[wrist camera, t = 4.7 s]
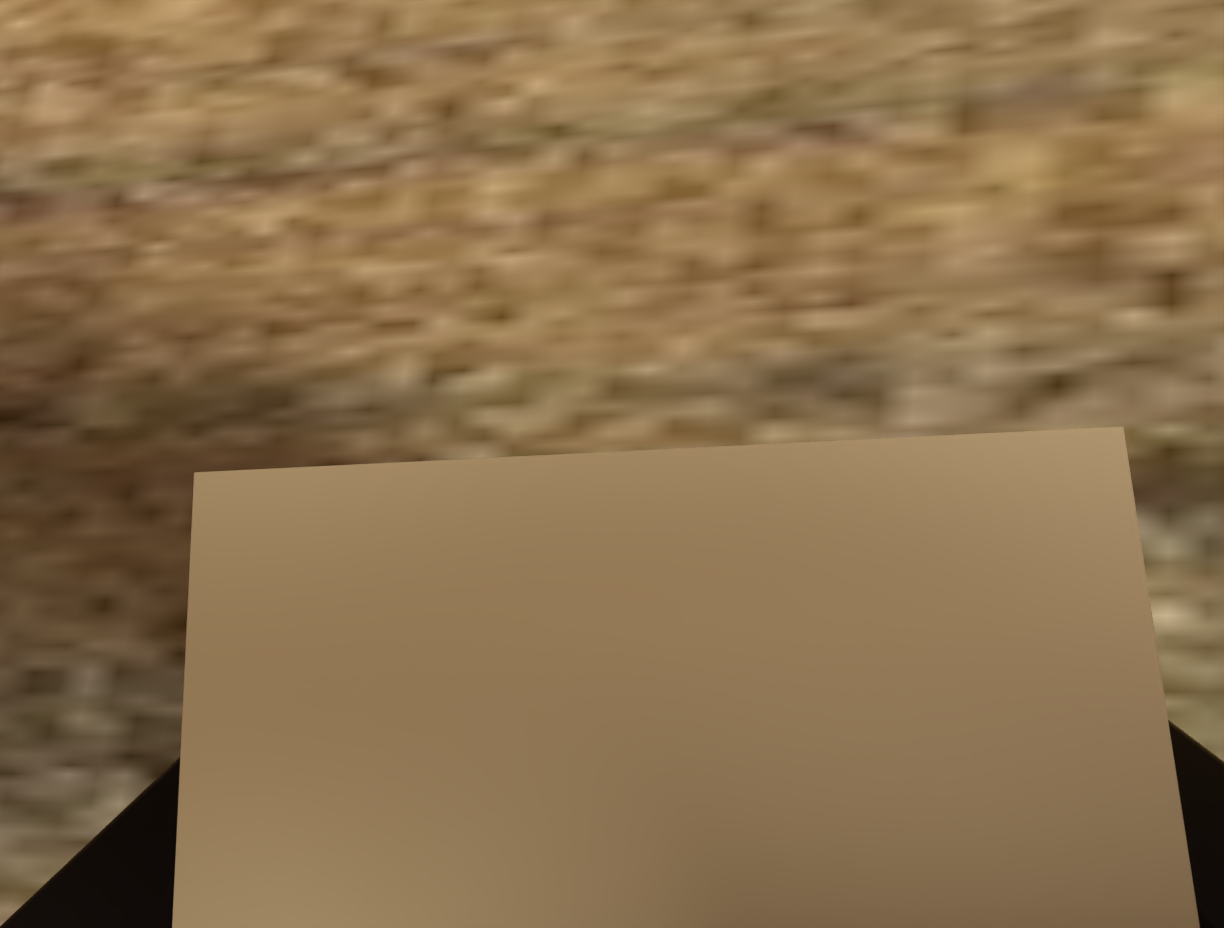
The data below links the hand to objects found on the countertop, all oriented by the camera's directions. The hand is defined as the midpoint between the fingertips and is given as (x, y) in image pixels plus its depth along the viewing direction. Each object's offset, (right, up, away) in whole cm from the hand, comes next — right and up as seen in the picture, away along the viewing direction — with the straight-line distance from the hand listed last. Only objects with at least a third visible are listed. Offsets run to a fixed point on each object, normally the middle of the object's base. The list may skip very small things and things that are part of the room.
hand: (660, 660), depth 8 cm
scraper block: (0, -3, +8) cm, 9 cm away
